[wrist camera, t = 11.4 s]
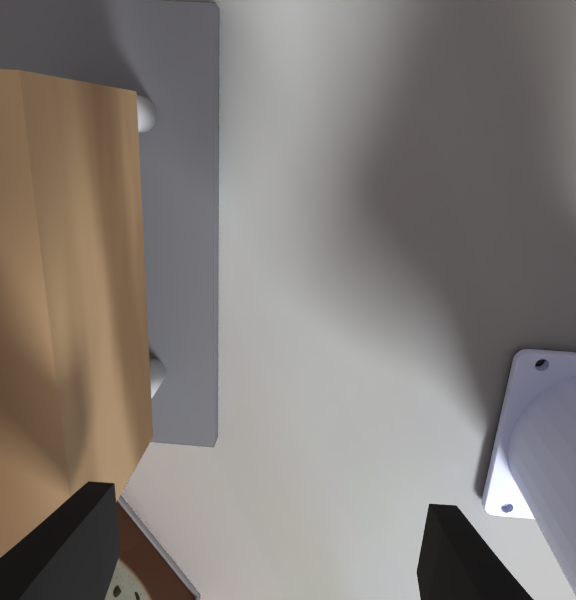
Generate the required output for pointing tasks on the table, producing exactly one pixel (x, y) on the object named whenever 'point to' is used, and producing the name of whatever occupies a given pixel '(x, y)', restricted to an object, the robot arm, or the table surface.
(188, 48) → the peg plate
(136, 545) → the food container
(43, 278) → the shelf block
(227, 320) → the table surface
